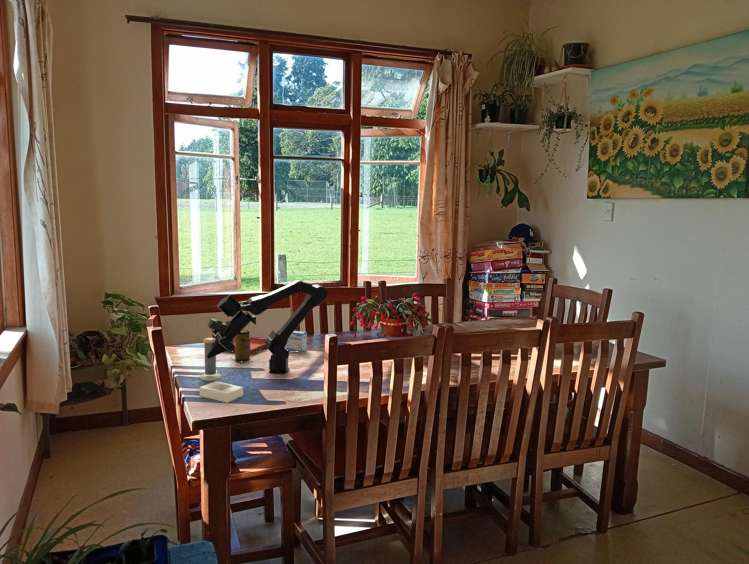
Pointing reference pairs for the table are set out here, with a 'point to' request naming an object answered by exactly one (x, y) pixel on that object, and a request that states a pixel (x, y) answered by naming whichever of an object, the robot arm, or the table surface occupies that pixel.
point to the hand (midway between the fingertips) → (206, 356)
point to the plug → (209, 362)
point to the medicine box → (297, 341)
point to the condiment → (242, 347)
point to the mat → (210, 377)
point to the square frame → (221, 391)
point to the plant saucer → (254, 344)
